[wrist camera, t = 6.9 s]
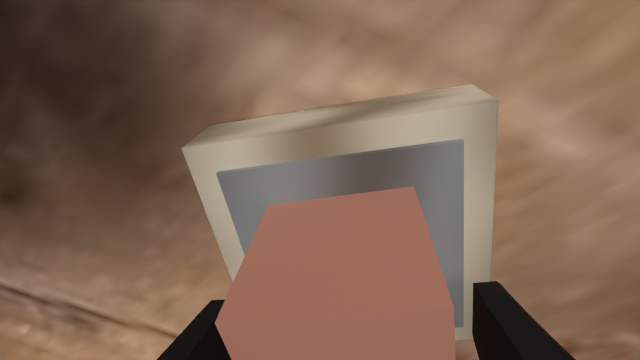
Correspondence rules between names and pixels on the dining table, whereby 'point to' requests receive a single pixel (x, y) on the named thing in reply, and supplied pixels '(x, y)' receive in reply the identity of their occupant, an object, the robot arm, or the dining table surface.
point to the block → (340, 284)
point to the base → (363, 172)
